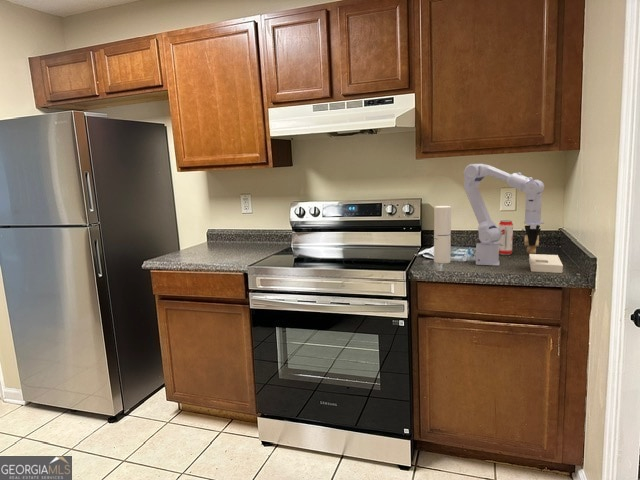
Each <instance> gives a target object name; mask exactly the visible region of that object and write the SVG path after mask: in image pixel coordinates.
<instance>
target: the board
mask: <svg viewBox="0 0 640 480" xmlns="http://www.w3.org/2000/svg"><path fill="white" fill-rule="evenodd" d="M528 254H529V256H528V258H529V259H528V262H529V266H530V271H531V272H537V273H538V272H539V273H553V274H555V273H556V274H558V273H559V274H563V268H564V265H563V263H562V261H561V259H560V257H559V255H558V254H540V253H539V254H536V253H533V254H531V253H528Z"/></svg>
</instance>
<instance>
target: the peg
mask: <svg viewBox="0 0 640 480" xmlns="http://www.w3.org/2000/svg"><path fill="white" fill-rule="evenodd" d="M523 243H524V246H525V247H526V253H527V254H536V253H537V247H540V245H539V244H540V235H539V234H538V236H537V240H536V244H535V246H530V245H529V242H528V235H527V234H525V235H524V242H523Z"/></svg>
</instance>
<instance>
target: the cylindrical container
mask: <svg viewBox="0 0 640 480" xmlns="http://www.w3.org/2000/svg"><path fill="white" fill-rule="evenodd" d="M433 208H434V209H433V210H434V211H433V213H434V214H433V215H434V216H433V218H434V219H433V221H434V222H433V223H434V225H433V230H434V231H433V263H435V264H449V263H451V245H452V244H451V240H452V239H451V238H452V237H451V235H452V231H451V230H452V206H450V205H436V206H433Z"/></svg>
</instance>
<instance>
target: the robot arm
mask: <svg viewBox="0 0 640 480" xmlns="http://www.w3.org/2000/svg"><path fill="white" fill-rule="evenodd" d="M462 174H463V177H464V178H463V188H464V191H465V194H466V196H467V198H468V200H469V203H470V206H471V209H472V211H473V214H474V216H475V218H476V221H477V223H478V226H477V227H478V228H477V232H478V239H479V241H480V242H479V243H478V242H477V243H476V245H475V246H476V247H475V257H474V258H475V259H474V260H475V265H476V266H477V265H480V266H481V265H482V266H500V260H499V259H500V258H499V257H500V254H499V240H500V239H501V237H502V232H501V230H500V229H499V226H497V223H496V222H495V221H494V220H492V218H491V215H490V213H489V211H488V208H487V206H486V203H485V201H484V200H483V196H482V194H481V192H480V189H479V185H480V183H481V182H482V180H483V179H484V178H485V177H487V176H490V177H492V178H495V179H498V180H501V181H504V182H506V183H507V185H508V186H509V187H511V188H514V189H516V190H518V191H521V192H524V194H525V207H524V208H525V209H524V210H525V211H524V222H523V223H524V224H525V225H524V231H525V232H526V235H528V242H529V245H530V246H535V244H536V240H537V236H538V235H539V234H540V231H541V228H540V227H541V226H540V225H541V224H545V222H544V221H543V220H542V206H543V205H542V201H543V199H542V195H543V192H544V190H545V184H544V182H543V181H541V180H540V179H534V178H533V177H531V176H530V177H529V176H528V177H527V176H525V175H523V174H522V172H513V173H509V172H506V171H504V170H502V169H499V168H497V167H494V166H492V165H489V164H486V163H485V164H484V163H470V164H468V165H467V166H466V167H465V168H464V170H463V173H462Z"/></svg>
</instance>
